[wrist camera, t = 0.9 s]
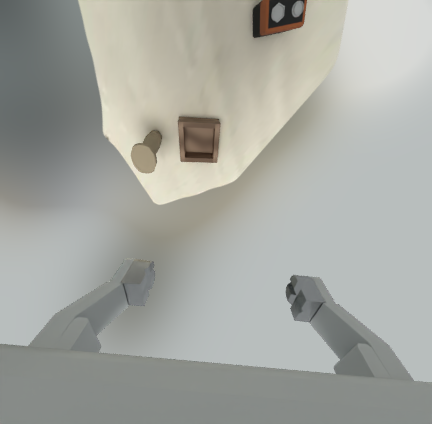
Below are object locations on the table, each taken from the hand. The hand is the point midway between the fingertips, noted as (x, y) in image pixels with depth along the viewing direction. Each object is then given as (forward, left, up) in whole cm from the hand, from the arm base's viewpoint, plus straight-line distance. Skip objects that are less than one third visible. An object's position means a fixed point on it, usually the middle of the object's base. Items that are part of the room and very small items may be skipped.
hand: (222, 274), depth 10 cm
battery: (-16, +13, -46) cm, 51 cm away
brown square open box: (+8, -1, -46) cm, 47 cm away
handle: (+8, -13, -46) cm, 49 cm away
